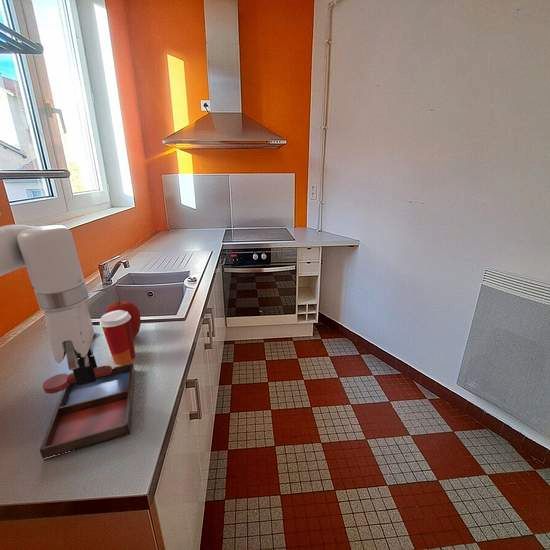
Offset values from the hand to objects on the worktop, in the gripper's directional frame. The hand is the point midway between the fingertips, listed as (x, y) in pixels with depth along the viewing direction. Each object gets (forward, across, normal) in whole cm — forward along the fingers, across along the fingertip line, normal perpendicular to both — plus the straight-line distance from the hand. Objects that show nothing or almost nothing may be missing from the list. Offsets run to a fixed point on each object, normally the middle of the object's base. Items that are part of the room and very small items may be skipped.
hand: (88, 378), depth 61 cm
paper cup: (+12, -23, +3) cm, 26 cm away
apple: (+12, -35, +3) cm, 38 cm away
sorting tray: (+12, -5, -2) cm, 13 cm away
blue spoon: (+12, -37, -9) cm, 40 cm away
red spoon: (0, 0, -1) cm, 1 cm away
